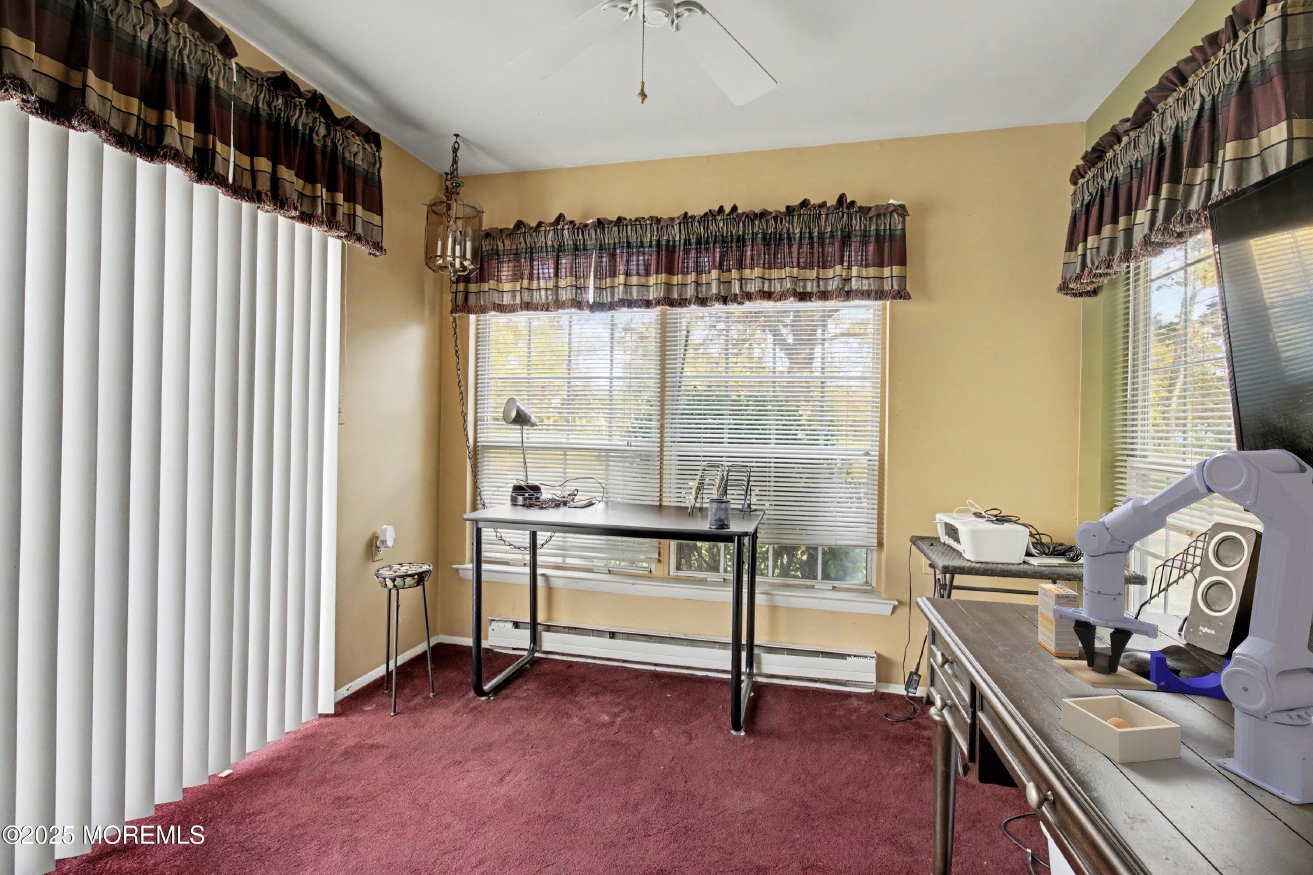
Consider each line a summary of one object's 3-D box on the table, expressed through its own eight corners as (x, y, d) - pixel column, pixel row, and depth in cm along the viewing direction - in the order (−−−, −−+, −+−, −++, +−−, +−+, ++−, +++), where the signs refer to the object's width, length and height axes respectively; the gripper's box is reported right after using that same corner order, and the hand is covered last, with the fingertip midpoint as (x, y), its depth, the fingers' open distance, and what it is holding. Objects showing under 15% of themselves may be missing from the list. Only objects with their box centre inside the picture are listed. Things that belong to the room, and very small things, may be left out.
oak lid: (1156, 693, 99) (1157, 666, 99) (1092, 690, 99) (1092, 663, 99) (1110, 669, 109) (1111, 645, 109) (1052, 667, 109) (1053, 642, 109)
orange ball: (1136, 742, 89) (1136, 722, 89) (1118, 744, 88) (1118, 724, 88) (1118, 732, 92) (1118, 713, 92) (1100, 734, 91) (1100, 714, 91)
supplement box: (1080, 658, 122) (1081, 594, 122) (1054, 656, 123) (1054, 593, 123) (1061, 643, 130) (1062, 583, 130) (1037, 642, 131) (1037, 582, 131)
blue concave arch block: (1231, 691, 107) (1232, 658, 107) (1243, 702, 103) (1243, 667, 103) (1147, 679, 112) (1147, 647, 112) (1155, 689, 108) (1155, 656, 108)
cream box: (1180, 757, 86) (1181, 726, 86) (1118, 763, 84) (1118, 731, 84) (1117, 722, 96) (1118, 694, 96) (1061, 727, 94) (1061, 699, 94)
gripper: (1048, 586, 106) (1047, 662, 107) (1153, 604, 96) (1151, 688, 96) (1059, 579, 111) (1058, 652, 112) (1160, 595, 101) (1159, 676, 101)
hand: (1102, 668), depth 104 cm, fingers closed on oak lid, 3 cm apart
